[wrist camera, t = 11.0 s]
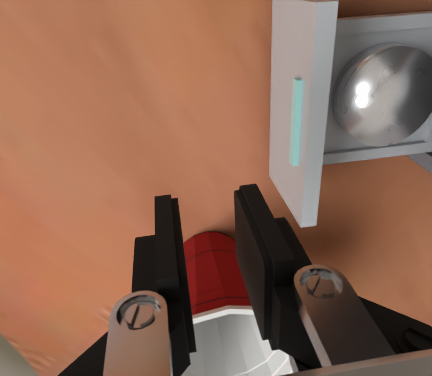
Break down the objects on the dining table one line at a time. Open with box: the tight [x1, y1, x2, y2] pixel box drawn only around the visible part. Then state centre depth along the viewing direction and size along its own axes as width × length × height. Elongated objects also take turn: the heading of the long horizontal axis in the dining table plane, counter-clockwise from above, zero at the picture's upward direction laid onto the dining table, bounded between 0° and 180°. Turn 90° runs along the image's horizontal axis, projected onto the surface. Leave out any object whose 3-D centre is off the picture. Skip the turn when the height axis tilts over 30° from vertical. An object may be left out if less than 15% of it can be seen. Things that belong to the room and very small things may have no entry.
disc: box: [332, 42, 432, 147], centre depth 24 cm, size 6×6×2 cm
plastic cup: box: [181, 232, 293, 376], centre depth 27 cm, size 11×11×12 cm
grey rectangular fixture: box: [269, 0, 432, 228], centre depth 23 cm, size 12×14×7 cm
